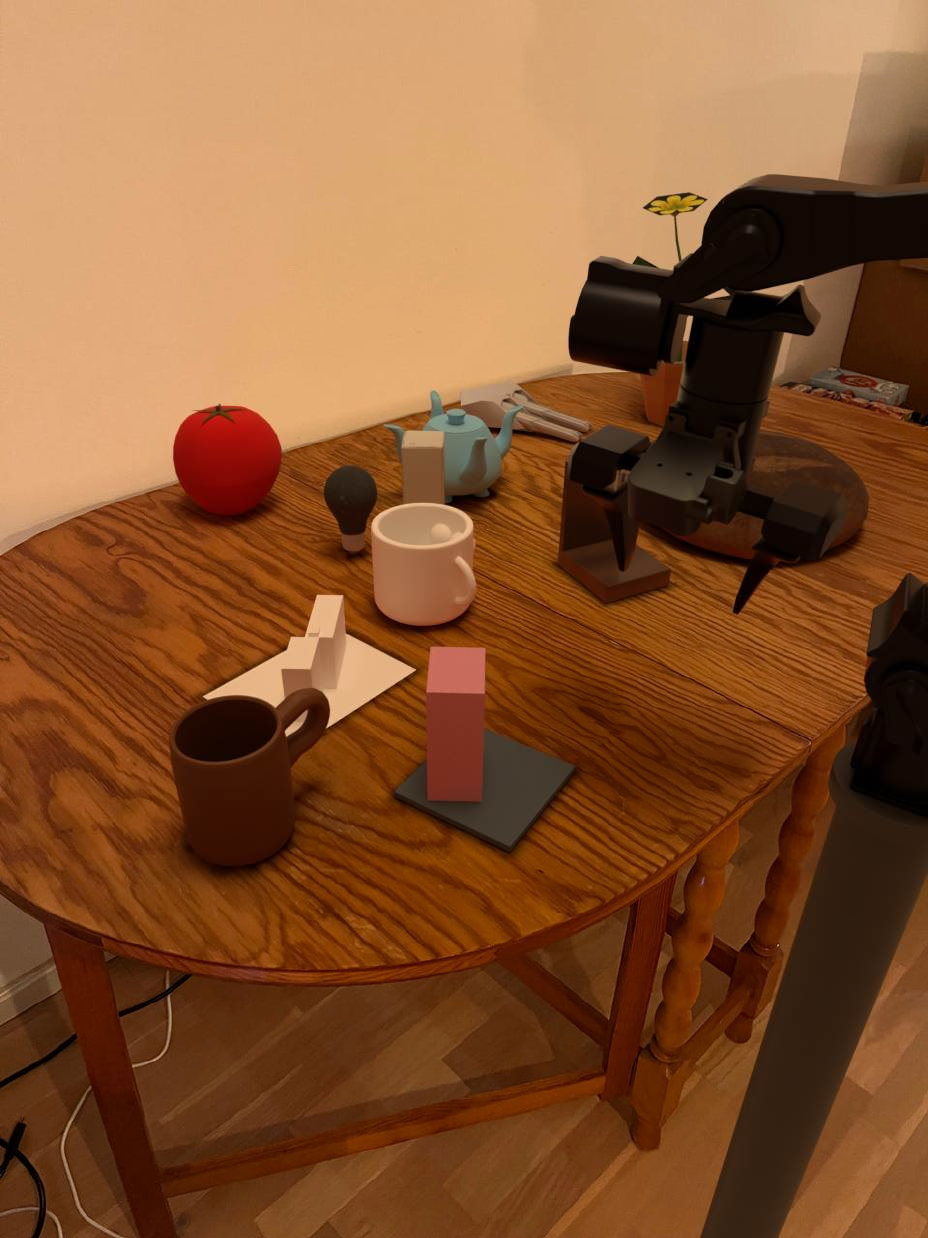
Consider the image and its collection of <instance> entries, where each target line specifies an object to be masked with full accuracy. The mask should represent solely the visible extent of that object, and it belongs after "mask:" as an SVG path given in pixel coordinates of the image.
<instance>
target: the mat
mask: <svg viewBox="0 0 928 1238" xmlns="http://www.w3.org/2000/svg"><path fill="white" fill-rule="evenodd" d="M575 772H576V765H574V764H572V763H569V762H566V761H565V760H562V759H559V758H558V757H556V756H552V755H550V754H547V753H545V752H543V751H540V750H538V749H536V748H533V747H530V746H529V745H526V744H524V743H521V742H518V741H517V740H514V739H511V738H509V737H507V736H505V735H501V734H499V733H497V732H494V731H492V730H490V729H487V728H485V727H484V751H483V785H482V802H464V801H428V799H427V759H426V760H424V762H423V763H422V764H421V765H420V766H419V767H418V768H417V769H416V770H415V771H413V773H412V774H410V776H408V778H406V780H405V781H404V782H402V783H401V785H399V786H398V787H397V788H396V789H395V790H394V791H393V793H394V794H393V795H394V796H393V797H394V798H396V799H398V800H400V801H402V802H404V803H405V804H408V805H410V806H412V807H414V808H416V809H419V810H421V811H423V812H425V813H427V814H429V815H431V816H433V817H435V818H437V819H439V820H441V821H443V822H445V823H448V824H450V825H452V826H454V827H455V828H458V829H460V830H462V831H464V832H466V833H469V834H470V835H473V836H474V837H476V838H479V839H481V840H483V841H485V842H487V843H489V844H491V845H494V846H495V847H497V848H499V849H502V850H504V851H506V852H508V853H511V852H512V851H513V849H514V848H515V847H516V846H517V844H518V843H519V842H520V841H521V840H522V838H523V837H524V836H525V835H526V833H527V832H528V831H529V829H530V828H531V827H532V826H533V825H534V823H535V822H536V821H537V820H538V818H539V817H540V816H541V814H543V812H544V811H545V809H546V808H547V807H548V806H549V805H550V803H551V802H552V801H553V799H554V798H555V797H556V796H557V794H558V793H559V792H560V791H561V790H562V788H563V787H564V786H565V784H566V783H567V782H568V781H569V779H570V778H571V777H572V776H573V774H574V773H575Z"/></svg>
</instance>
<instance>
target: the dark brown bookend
mask: <svg viewBox="0 0 928 1238" xmlns="http://www.w3.org/2000/svg"><path fill="white" fill-rule="evenodd" d="M564 462H565V463H564V474H563V475H564V476H563V487H562V500H561V501H562V502H561V513H560V514H561V515H560V526H559V527H560V528H559V540H558V555H557V566H559V568H561V569H562V570H563V571H565V572H566V573H567V574H569V575H570V576H571V577H572V578H573V579H574V580H576V581H577V582H578V583H579V584H581V585H582V586H583V587H585V588H586V589H587V590H588V591H590V592H591V593H592V594H593V595H595V596H596V597H597V598H598V599H600V600H601V601H602V602H603V603H604V604H608V603H612V602H617V601H619V600H622V599H623V600H624V599H626V598H630V597H634V596H636V595H637V596H638V595H639V594H644V593H647V592H651V591H654V590H657V589H661V588H665V587H669V586H670V580H671V573H672V568H671V567H669V566H668V565H667V564H665V563H663V562H662V561H660V560H659V559H658V558H656V557H654V555H652V554H650V553H649V552H648V551H646V550H645V549H643V548H642V547H640V546H639V545H637V544H636V547H635V551H634V554H633V557H632V560H631V563H630V566H629V568H628V569H627V570H626V571H625V572H622V571H619V568H618V564H617V559H616V555H615V550H614V546H613V541H612V537H611V532H610V528H609V524H608V521H607V518H606V515H605V513H604V510H603V508H602V506H601V505H600V504H599V503H598V502H597V501H596V500H595V499H594V498H592V497H591V496H589V495H586V494H584V493H583V491H582V489H581V486H582V484H579V483H576V482H573V481H570V480H569V479H568V477H567V476H566V474H567V467H568V460H565V461H564Z"/></svg>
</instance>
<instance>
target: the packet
mask: <svg viewBox="0 0 928 1238" xmlns="http://www.w3.org/2000/svg"><path fill="white" fill-rule="evenodd" d="M486 651H487V649H486V647H473V646H472V647H471V646H470V647H467V646H465V647H464V646H430V648H429V656H428V657H429V659H428V667H427V676H426V677H427V678H426V687H425V708H426V709H425V714H426V715H425V717H426V718H425V719H426V720H425V721H426V728H425V729H426V760H427V799H428V801H464V802H482V785H483V751H484V728H485V715H486V714H485V711H486V655H487V654H486Z"/></svg>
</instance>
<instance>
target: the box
mask: <svg viewBox="0 0 928 1238" xmlns="http://www.w3.org/2000/svg"><path fill="white" fill-rule="evenodd" d="M401 456H402V464H401V485H402V487H401V488H402V505H404V504H411V503H435V504H442V505H446V503H445V469H444V431H422V430H409V429H408V430H404V436H403V441H402V447H401Z"/></svg>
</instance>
